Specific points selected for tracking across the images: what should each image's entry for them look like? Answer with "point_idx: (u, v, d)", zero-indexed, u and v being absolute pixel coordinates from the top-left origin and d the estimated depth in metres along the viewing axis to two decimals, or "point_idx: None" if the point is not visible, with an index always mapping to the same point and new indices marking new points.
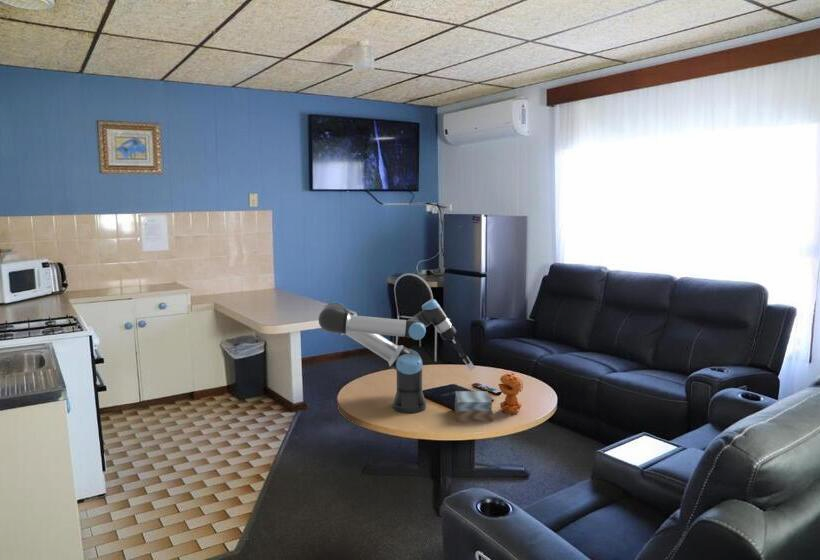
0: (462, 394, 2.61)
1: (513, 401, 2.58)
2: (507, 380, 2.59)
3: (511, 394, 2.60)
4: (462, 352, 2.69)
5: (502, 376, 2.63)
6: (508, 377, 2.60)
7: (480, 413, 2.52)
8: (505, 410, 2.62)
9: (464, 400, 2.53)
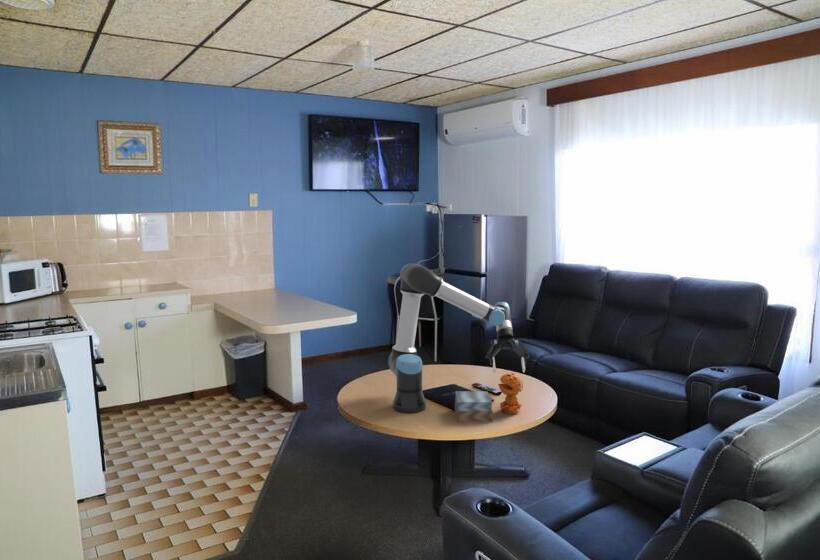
0: (462, 394, 2.61)
1: (513, 401, 2.58)
2: (507, 380, 2.59)
3: (511, 394, 2.60)
4: None
5: (502, 376, 2.63)
6: (508, 377, 2.60)
7: (480, 413, 2.52)
8: (505, 410, 2.62)
9: (464, 400, 2.53)
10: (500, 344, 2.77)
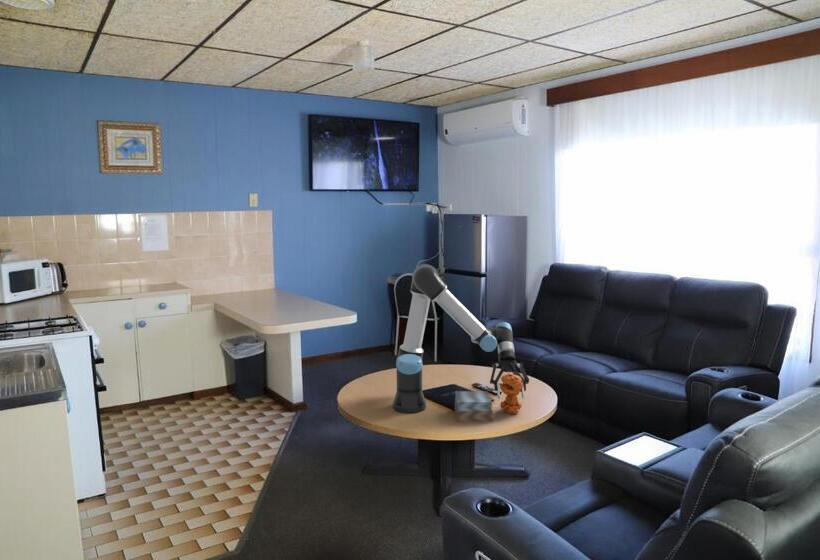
0: (462, 394, 2.61)
1: (513, 401, 2.58)
2: (508, 380, 2.59)
3: (512, 394, 2.59)
4: None
5: (503, 376, 2.62)
6: (509, 377, 2.60)
7: (480, 413, 2.52)
8: (505, 410, 2.62)
9: (464, 400, 2.53)
10: (502, 367, 2.67)
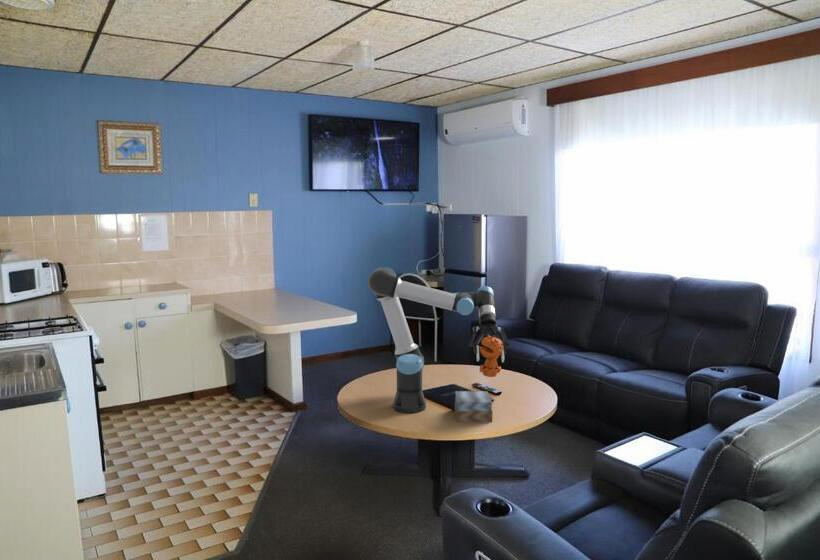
0: (462, 394, 2.61)
1: (493, 364, 2.53)
2: (488, 342, 2.54)
3: (491, 357, 2.54)
4: None
5: (483, 338, 2.57)
6: (489, 340, 2.54)
7: (480, 413, 2.52)
8: (484, 373, 2.57)
9: (464, 400, 2.53)
10: (483, 330, 2.62)
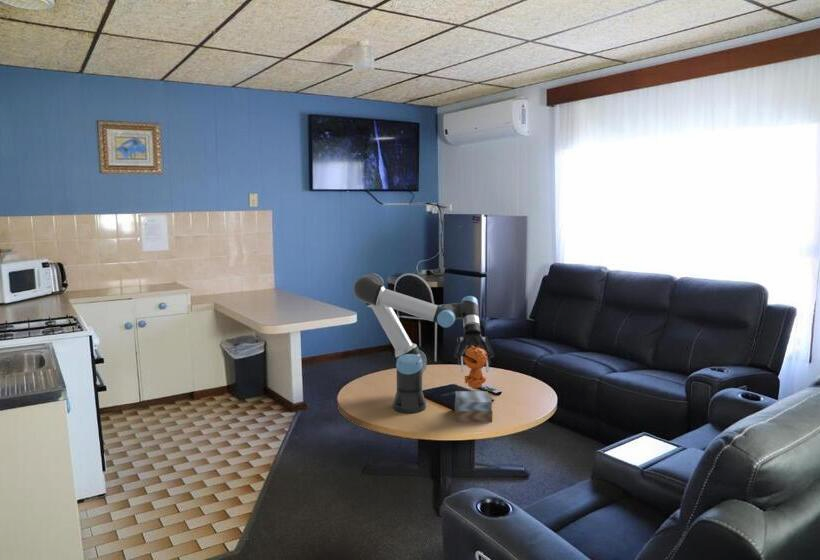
0: (462, 394, 2.61)
1: (477, 375, 2.51)
2: (472, 353, 2.52)
3: (475, 367, 2.53)
4: None
5: (467, 349, 2.56)
6: (473, 350, 2.53)
7: (480, 413, 2.52)
8: (469, 384, 2.56)
9: (464, 400, 2.53)
10: (467, 341, 2.61)
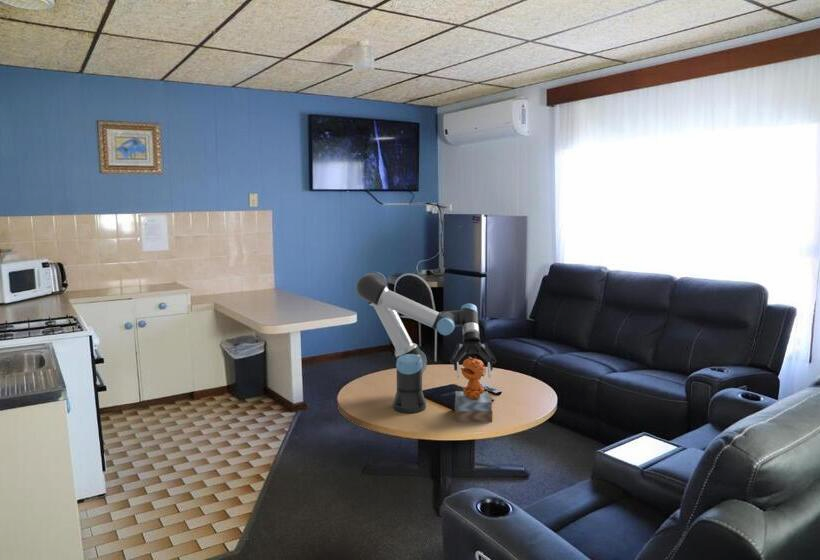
0: (462, 394, 2.61)
1: (475, 385, 2.52)
2: (469, 364, 2.54)
3: (473, 378, 2.54)
4: None
5: (464, 360, 2.57)
6: (470, 361, 2.55)
7: (480, 413, 2.52)
8: (467, 395, 2.57)
9: (464, 400, 2.53)
10: (465, 348, 2.61)
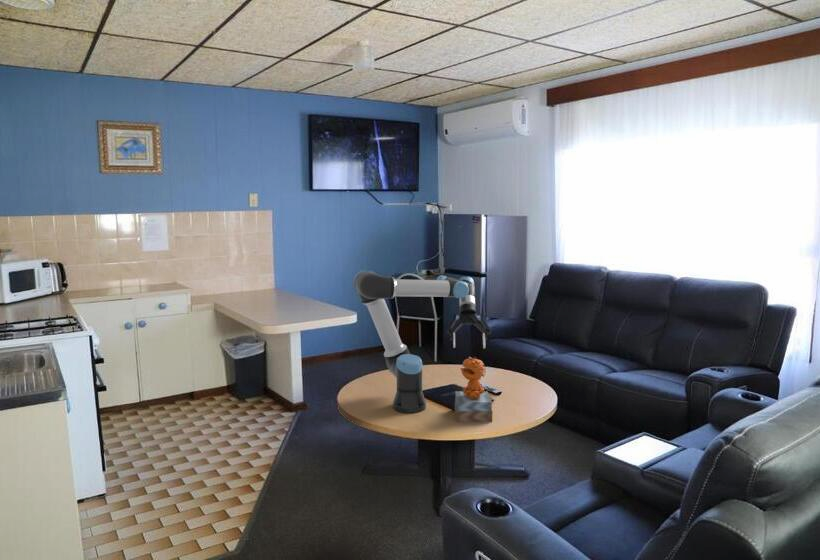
0: (462, 394, 2.61)
1: (475, 386, 2.52)
2: (469, 364, 2.54)
3: (473, 379, 2.54)
4: None
5: (464, 360, 2.57)
6: (470, 361, 2.55)
7: (480, 413, 2.52)
8: (467, 395, 2.57)
9: (464, 400, 2.53)
10: (462, 319, 2.73)
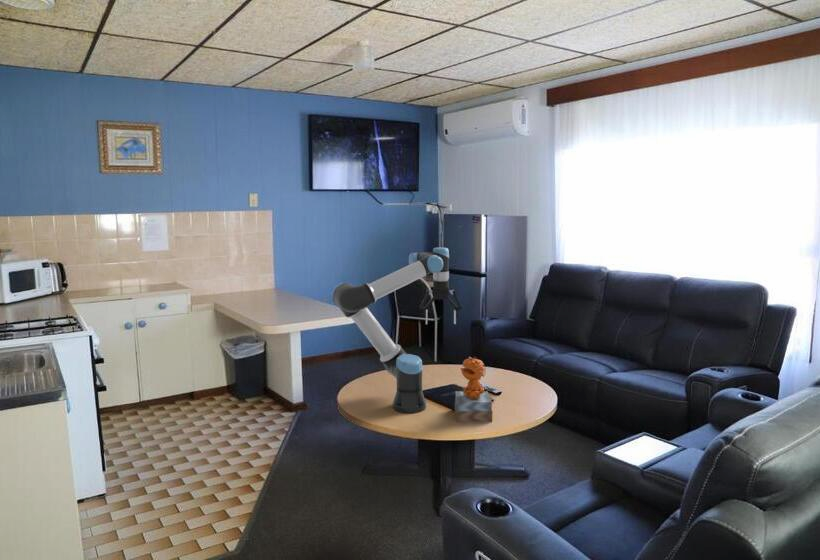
0: (462, 394, 2.61)
1: (475, 386, 2.52)
2: (469, 364, 2.54)
3: (473, 379, 2.54)
4: None
5: (464, 360, 2.57)
6: (470, 361, 2.55)
7: (480, 413, 2.52)
8: (467, 395, 2.57)
9: (464, 400, 2.53)
10: (434, 297, 2.81)
